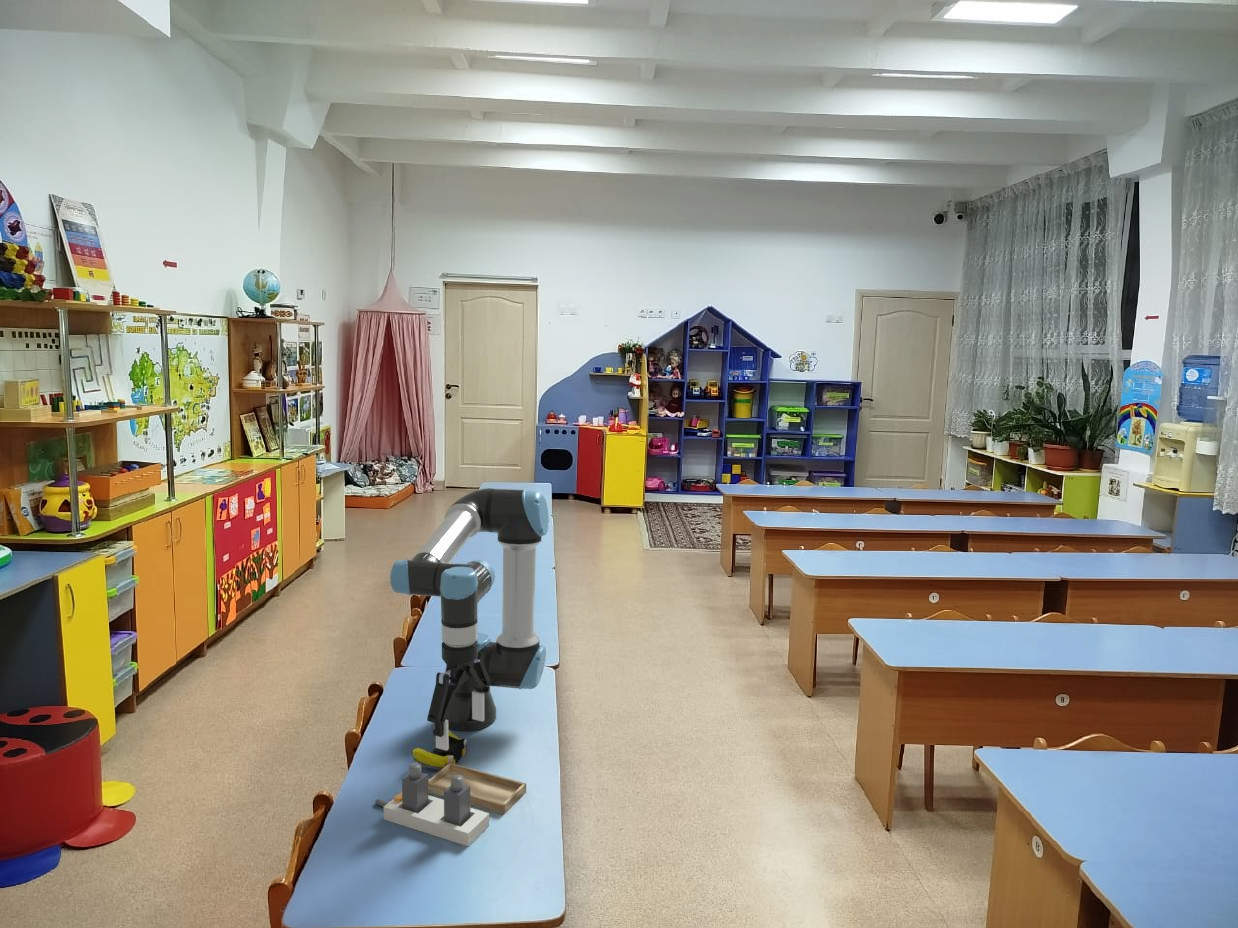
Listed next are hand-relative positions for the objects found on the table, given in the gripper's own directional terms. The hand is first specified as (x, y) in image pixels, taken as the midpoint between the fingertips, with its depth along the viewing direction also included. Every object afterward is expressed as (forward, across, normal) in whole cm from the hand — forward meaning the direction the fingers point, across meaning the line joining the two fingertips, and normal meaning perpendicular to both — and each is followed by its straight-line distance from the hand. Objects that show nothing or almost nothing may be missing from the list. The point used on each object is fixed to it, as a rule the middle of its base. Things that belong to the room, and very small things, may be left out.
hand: (460, 733), depth 179 cm
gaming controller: (+22, -19, -19) cm, 35 cm away
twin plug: (+20, +3, -10) cm, 23 cm away
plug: (+20, +3, +1) cm, 20 cm away
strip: (+21, +3, -7) cm, 22 cm away
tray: (+21, -11, -3) cm, 24 cm away
